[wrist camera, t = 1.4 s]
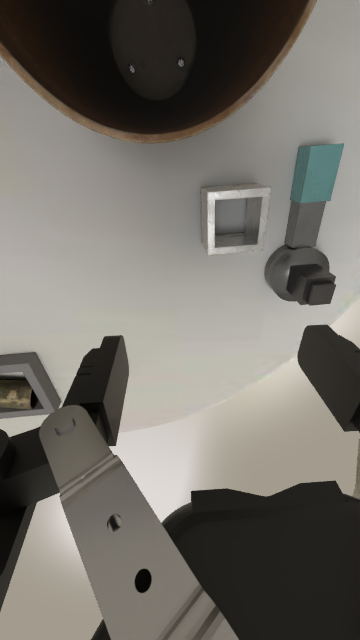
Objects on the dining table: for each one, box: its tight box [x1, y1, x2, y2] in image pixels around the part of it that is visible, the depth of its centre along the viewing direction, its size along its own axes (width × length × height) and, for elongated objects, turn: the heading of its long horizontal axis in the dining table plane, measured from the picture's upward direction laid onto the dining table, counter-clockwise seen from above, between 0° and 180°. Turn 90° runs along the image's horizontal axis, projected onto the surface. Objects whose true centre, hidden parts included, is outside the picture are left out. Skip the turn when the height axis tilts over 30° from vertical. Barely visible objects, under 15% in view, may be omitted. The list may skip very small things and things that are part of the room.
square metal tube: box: [201, 183, 271, 255], centre depth 27 cm, size 6×6×5 cm
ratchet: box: [265, 144, 344, 305], centre depth 27 cm, size 17×7×8 cm, turn 4°
